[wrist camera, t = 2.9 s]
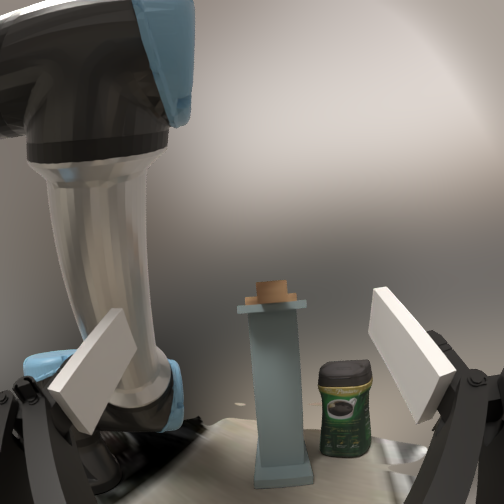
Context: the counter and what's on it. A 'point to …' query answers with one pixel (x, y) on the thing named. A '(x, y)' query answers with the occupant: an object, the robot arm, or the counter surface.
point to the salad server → (271, 293)
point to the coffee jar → (345, 407)
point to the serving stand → (278, 395)
